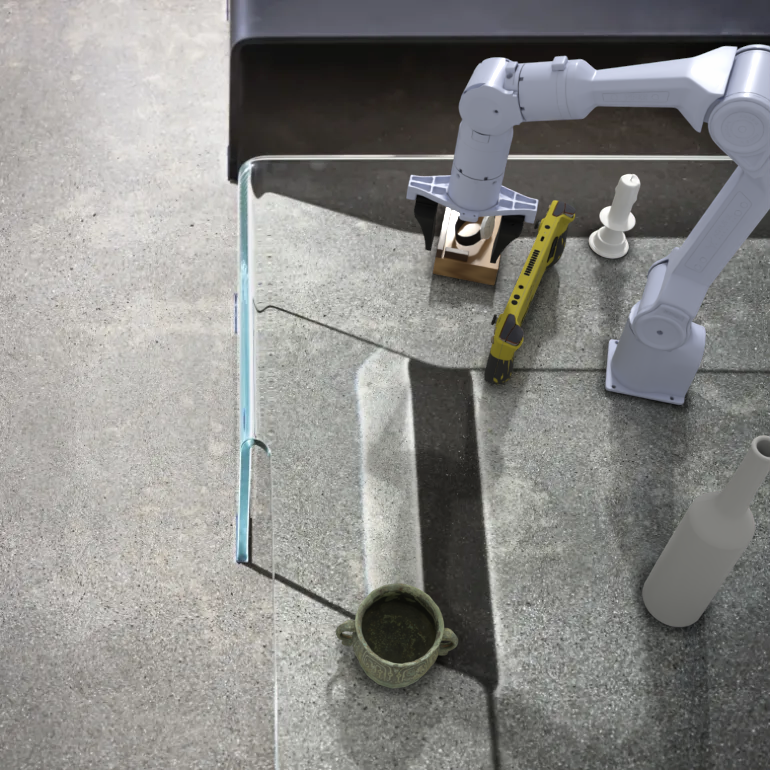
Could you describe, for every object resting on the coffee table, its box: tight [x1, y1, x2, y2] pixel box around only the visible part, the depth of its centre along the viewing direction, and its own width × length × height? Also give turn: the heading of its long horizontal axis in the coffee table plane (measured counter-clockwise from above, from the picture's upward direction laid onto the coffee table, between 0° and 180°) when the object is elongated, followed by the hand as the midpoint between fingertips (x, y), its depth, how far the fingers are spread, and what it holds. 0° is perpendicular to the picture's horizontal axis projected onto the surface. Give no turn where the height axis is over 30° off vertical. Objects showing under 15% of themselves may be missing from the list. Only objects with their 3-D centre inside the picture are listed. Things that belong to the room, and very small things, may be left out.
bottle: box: [641, 434, 770, 628], centre depth 111 cm, size 7×7×28 cm
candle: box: [588, 173, 641, 259], centre depth 149 cm, size 5×5×12 cm
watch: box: [455, 216, 495, 246], centre depth 147 cm, size 8×5×4 cm, turn 151°
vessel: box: [334, 582, 459, 689], centre depth 113 cm, size 12×9×6 cm
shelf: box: [432, 206, 502, 286], centre depth 149 cm, size 8×12×4 cm, turn 170°
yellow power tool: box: [483, 199, 577, 386], centre depth 140 cm, size 26×4×10 cm, turn 159°
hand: (461, 251), depth 136 cm, fingers open, 7 cm apart
